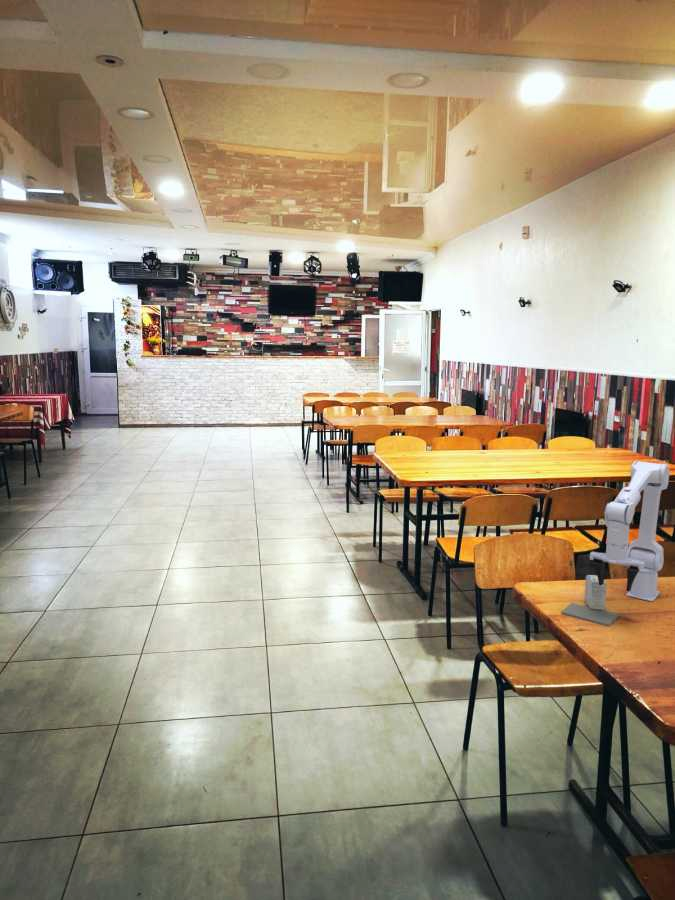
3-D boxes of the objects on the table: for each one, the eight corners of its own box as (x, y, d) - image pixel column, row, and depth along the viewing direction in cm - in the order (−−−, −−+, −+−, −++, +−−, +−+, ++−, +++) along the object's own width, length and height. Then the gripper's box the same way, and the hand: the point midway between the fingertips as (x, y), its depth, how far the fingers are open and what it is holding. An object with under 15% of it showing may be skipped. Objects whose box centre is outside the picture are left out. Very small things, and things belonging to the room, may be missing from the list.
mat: (571, 604, 188) (571, 602, 188) (618, 616, 179) (619, 614, 178) (561, 613, 181) (561, 611, 181) (609, 626, 172) (609, 624, 172)
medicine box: (605, 610, 181) (607, 582, 180) (589, 609, 182) (591, 581, 181) (598, 602, 189) (600, 575, 188) (583, 600, 190) (585, 574, 189)
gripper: (587, 541, 175) (585, 585, 177) (640, 551, 166) (637, 597, 168) (595, 535, 180) (592, 578, 183) (647, 545, 171) (644, 590, 173)
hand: (614, 587), depth 176 cm, fingers open, 7 cm apart
